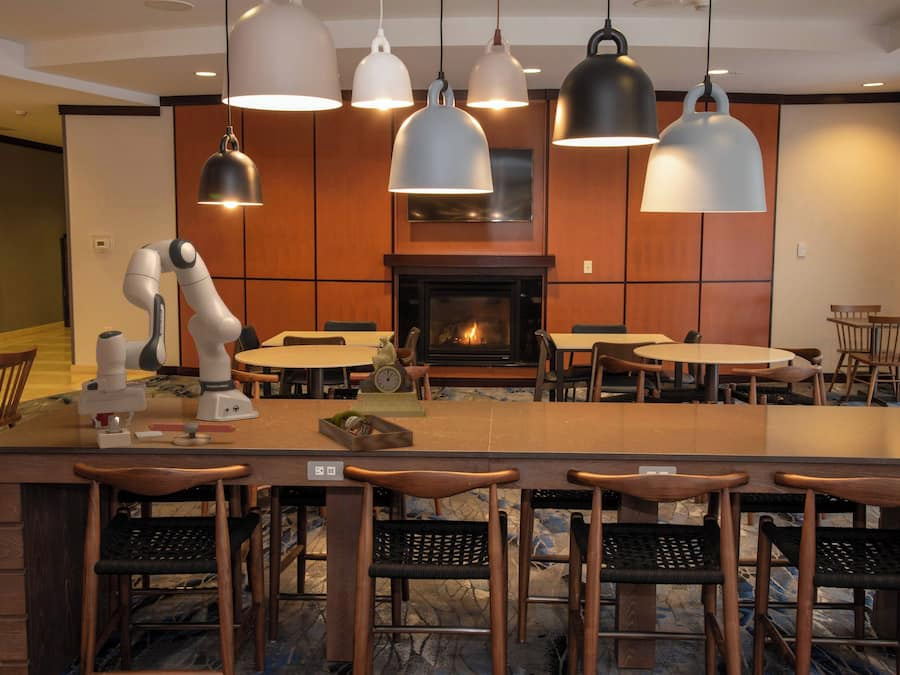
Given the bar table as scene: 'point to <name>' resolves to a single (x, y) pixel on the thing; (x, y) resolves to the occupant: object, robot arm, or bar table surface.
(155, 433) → the pad
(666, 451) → the bar table surface
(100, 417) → the soda can
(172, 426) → the pink rod with bead
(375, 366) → the decorative clock
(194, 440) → the round tan disc
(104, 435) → the eye block
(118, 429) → the hook peg
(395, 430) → the wooden tray
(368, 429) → the prank snake can
